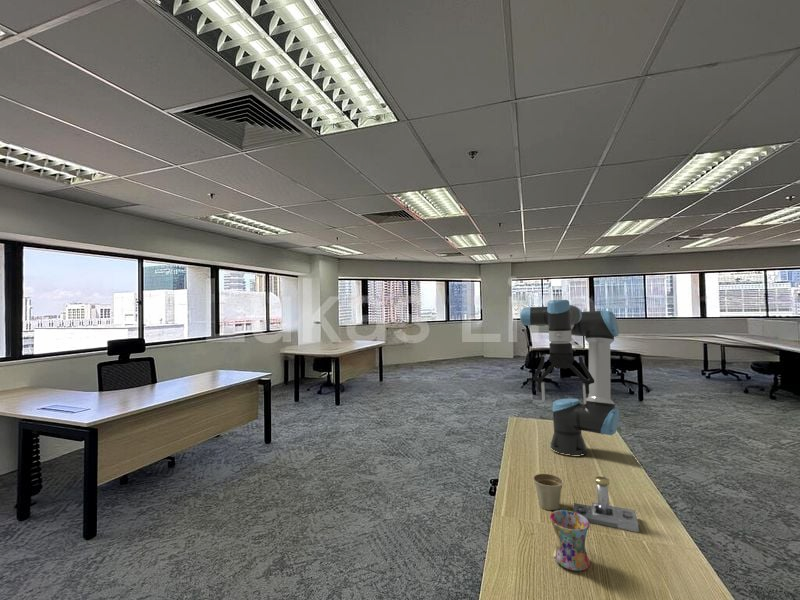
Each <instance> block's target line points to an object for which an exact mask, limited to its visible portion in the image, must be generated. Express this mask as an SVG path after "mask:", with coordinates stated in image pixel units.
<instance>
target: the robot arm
mask: <svg viewBox="0 0 800 600" xmlns="http://www.w3.org/2000/svg"><path fill="white" fill-rule="evenodd" d="M519 319H520V322H521V323H522V325H524V326H529V327H531V326H537V327H543V328H548V341H549V356H548V355H544V354H542V355H540V362H539V363H538V367H537V369H536V370H535V373H534V375H533V377H532V380H533V382H534V381H535V382H537V388H538V392H541V402H545V401H546V392H545V391H546V389H545V381H543V380H544V379H545V378H546V377H547V376H548V375H549V373H551V371H553V369H554V368H556V369H565V370H566V369H570V371H572V372H573V373H574V374H575V375H576V377H577V378H578V379H579V380H581V381H582V393H583V394H582V395H583V403H581V401H580V399H578V398H561V399H556V400H554V401H553V403H552V421H553V422H552V423H553V435H552V439H551V442H550V449H551V448H552V449H553V450H555V451H557V452H559V453H564V454H570V455H581V454H585V453H586V452H587V453H588V448H587V445H586V442H585V440H584V438H583V434H582V432H589V433H593V434H594V433H595V434H599V435H606V436H608V435H609V436H613V435H615V434H616V432H617V431H618V428H619V425H620V424H619V423H620V415H621V414H620V409H619V408H617V407H615V406H616V405H615V402H614V401H613V400H612V398H611V397H612V396H611V344H612V343H613V342H615V338H616V337H619V332H620V330H619V323H618V320H617V317H616V315H615V313H614V312H612V311H611V310H593V311H591V310H589V311H582V310H581V309H580V308H579V307H578V306H576V305H573V304H570V301H569V300H568V299H553V300H548V301H547V306H529V307H527V306H526V307H523V308H522V309H521V310H520V313H519ZM572 336H575V337H576V336H577V337H584V340H585V341H586V342H587V343H588V368H587V366H586V364H585V362H584V358H583V356H582V355H579V356H574V355H573V354H574V353H573V343H572V341H573V340H572V339H573V337H572ZM548 360H549V362H550V363H551V365H549V366H548V368H547V369H546V370H545V371H544V373H543V374H542V375H540V373H541V371H542V368H543V367H544V364H545V362H547V361H548ZM574 361H576V362H577V363H578V364H579V365H580V367H581V368H582V370H583V372H584V374H585V375H586V377H587V378H588V379H587V378H586V377H585V376H584V375H583V374H582V373H581V372H580V371H579V369H578V368H576V367H575V366H574V364H573V363H574ZM539 375H540V377H538V376H539ZM587 395H588V397H587Z"/></svg>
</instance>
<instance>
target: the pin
mask: <svg viewBox="0 0 800 600" xmlns="http://www.w3.org/2000/svg"><path fill="white" fill-rule="evenodd" d="M594 478H595V479H594V483H595V484H596V492H597V495H596V496H597V504H598V512H599V514H604V515H609V516H610V511H609V506H610V500H609V499H610V498H609V497H610V496H609V485H610V480H609V478H608V477H606V476H605V477H604V476H595V477H594Z"/></svg>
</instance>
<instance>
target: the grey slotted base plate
mask: <svg viewBox="0 0 800 600" xmlns="http://www.w3.org/2000/svg"><path fill="white" fill-rule="evenodd" d="M609 511H610V516H609V515H604V514H599V512H598V502H597V503H596V502H591V505H587V504H582V503H575V502H574V503H573V511H572V512H576V513H578V514H580V515H582V516H584V517H585V518H586V519H587V520H588V521H589V524H590V523H591V524H594V525H595V524H596V525H598V526H599V525H600V526H604V527H609V528H613V529H614V528H615V529H620V530H623V531H624V530H626V531H630V532H633V533H634V532H635V533H640V531H639V522H638V517H637V513H636V509H629V508H625V507H618V506H613V505H609Z"/></svg>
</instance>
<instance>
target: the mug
mask: <svg viewBox="0 0 800 600" xmlns="http://www.w3.org/2000/svg"><path fill="white" fill-rule="evenodd" d="M549 520H550V522H551V525H552V526H553V527H552V528H553V530H554V534H555V541H556V543H555V549H554V551H553V554H552V555H553V559H554V560H555V561H556V563H557V564H558V565H560V566H561V567H563V568H565V569H567V570H570V571H575V572H580V571H585V570H587V569H588V568H589V567H590V566H591V565H590V564H591V561H590V558H589V557H588V553H587V551H586V536H587V533H588V530H589V528H590V522H589V521H588V520H587V519H586V518H585V517H584V516H582V515H580V514H578V513H576V512H573V511H572V510H566V509H565V510H564V509H560V510H559V509H558V510H554V511H552V512H551V513H550V515H549Z"/></svg>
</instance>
